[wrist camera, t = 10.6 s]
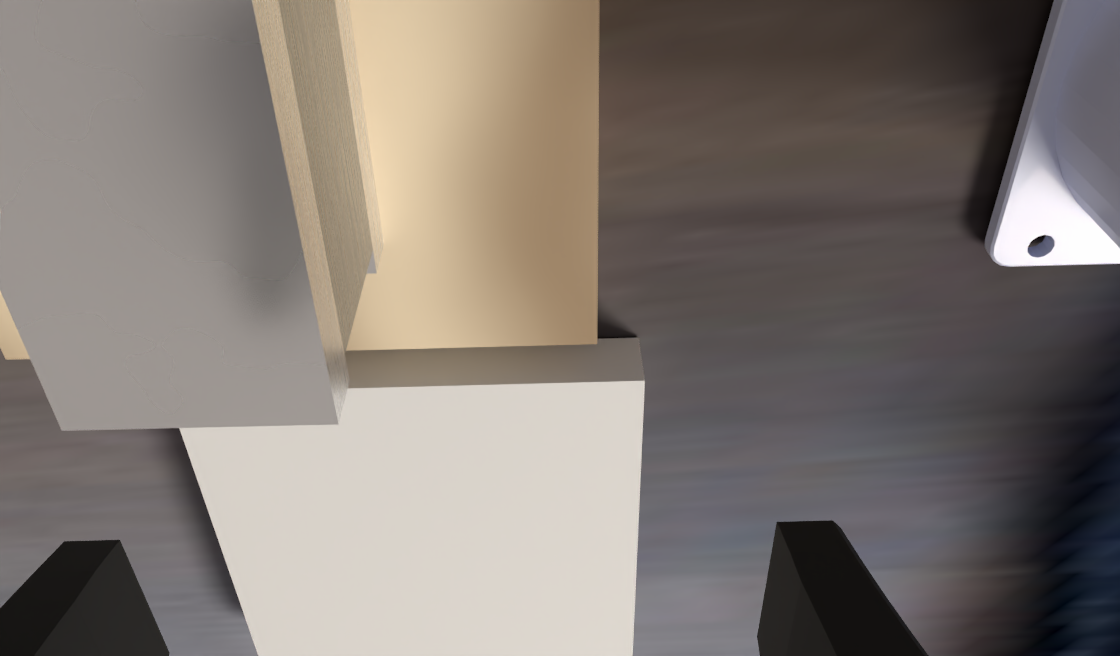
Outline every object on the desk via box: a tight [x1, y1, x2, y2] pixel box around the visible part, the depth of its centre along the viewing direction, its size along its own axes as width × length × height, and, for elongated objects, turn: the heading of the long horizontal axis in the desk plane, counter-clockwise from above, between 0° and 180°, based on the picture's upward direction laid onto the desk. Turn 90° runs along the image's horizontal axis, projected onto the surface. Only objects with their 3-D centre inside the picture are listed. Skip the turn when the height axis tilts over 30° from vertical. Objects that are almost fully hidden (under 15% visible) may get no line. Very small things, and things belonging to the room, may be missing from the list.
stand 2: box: [179, 338, 645, 656], centre depth 23 cm, size 10×10×2 cm
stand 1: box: [0, 0, 599, 359], centre depth 16 cm, size 12×12×2 cm
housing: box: [0, 0, 384, 431], centre depth 14 cm, size 7×4×5 cm, turn 1°
